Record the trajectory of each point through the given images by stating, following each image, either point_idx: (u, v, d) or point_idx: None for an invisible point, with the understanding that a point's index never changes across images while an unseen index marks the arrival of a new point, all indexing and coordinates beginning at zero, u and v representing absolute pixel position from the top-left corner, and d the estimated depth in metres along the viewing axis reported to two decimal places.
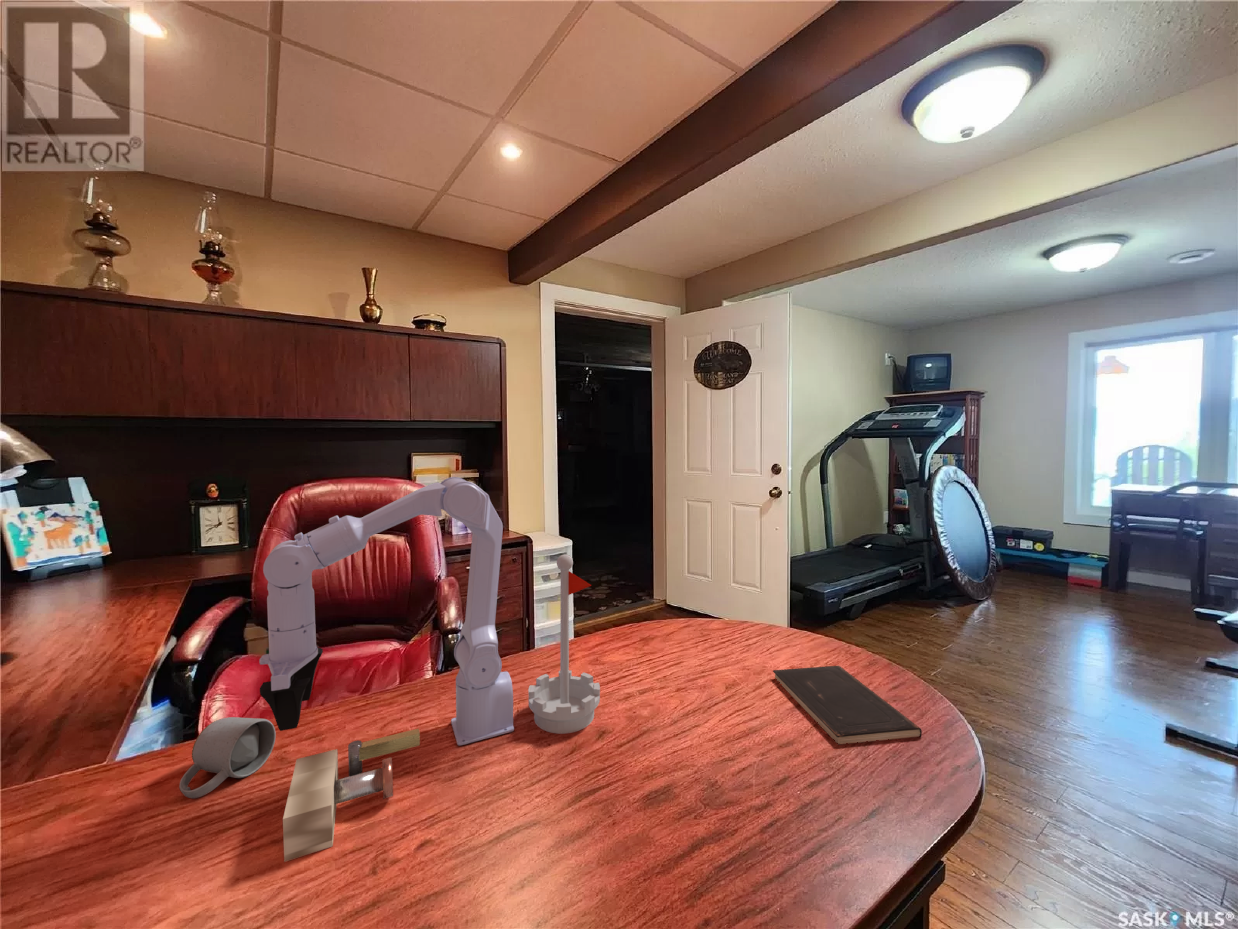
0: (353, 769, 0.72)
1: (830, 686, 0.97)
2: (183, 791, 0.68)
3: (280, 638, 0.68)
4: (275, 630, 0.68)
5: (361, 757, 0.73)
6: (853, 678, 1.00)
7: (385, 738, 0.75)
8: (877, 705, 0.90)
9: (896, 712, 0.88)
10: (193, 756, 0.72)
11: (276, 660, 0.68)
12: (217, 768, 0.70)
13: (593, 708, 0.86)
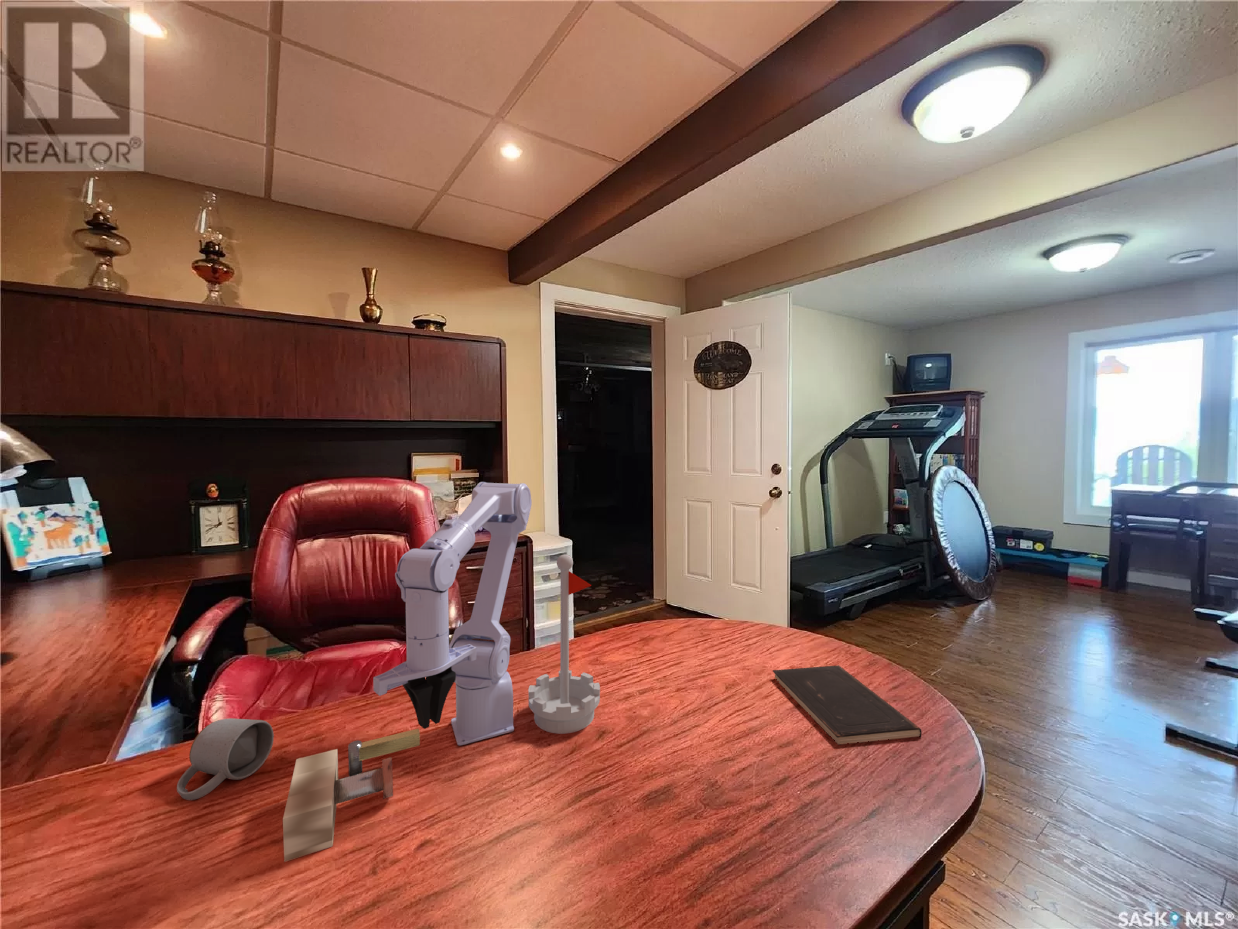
0: (353, 769, 0.72)
1: (830, 686, 0.97)
2: (180, 793, 0.67)
3: (407, 642, 0.69)
4: None
5: (361, 757, 0.73)
6: (853, 678, 1.00)
7: (385, 738, 0.75)
8: (877, 706, 0.90)
9: (896, 712, 0.88)
10: (191, 758, 0.71)
11: (406, 662, 0.69)
12: (215, 770, 0.70)
13: (593, 708, 0.86)
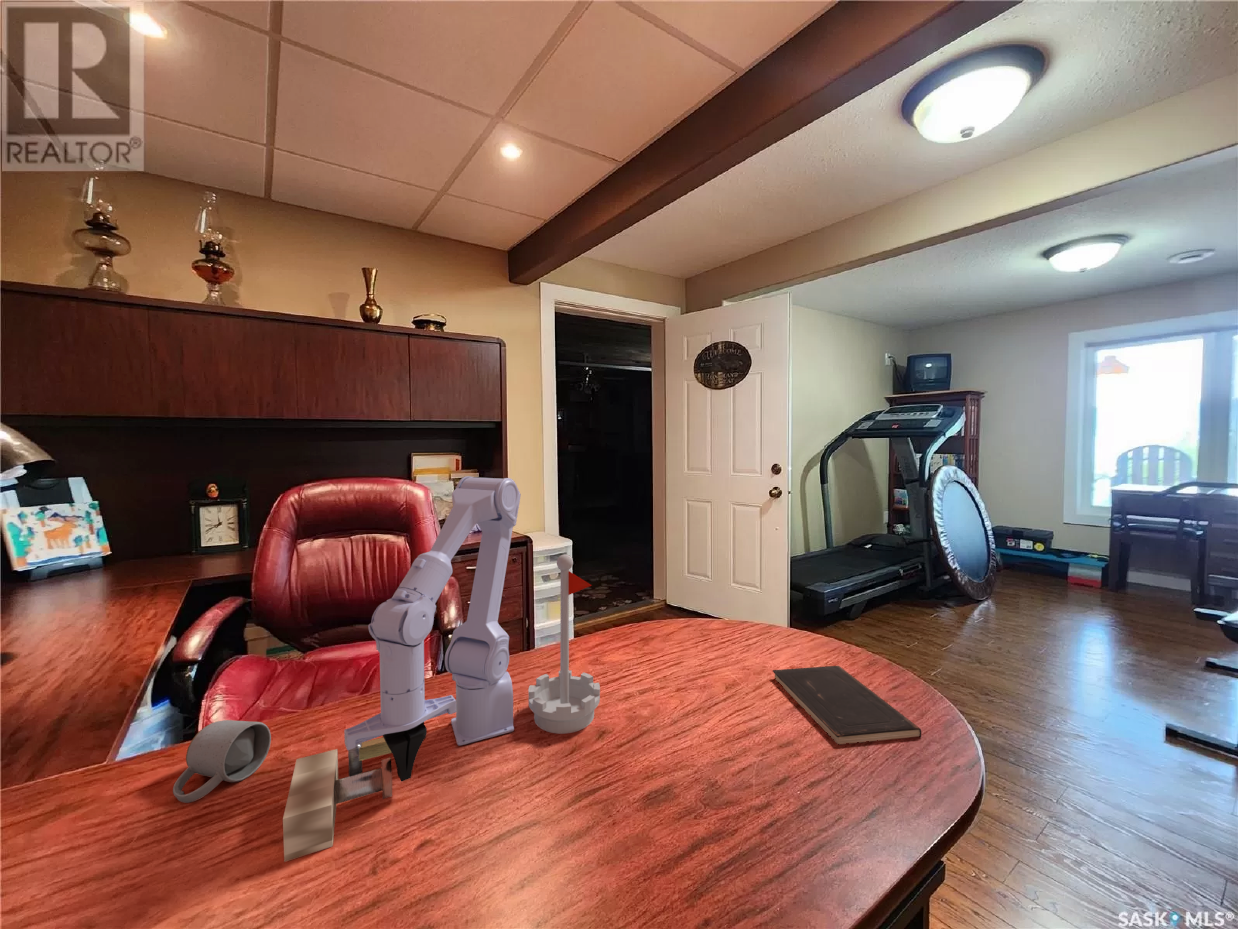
0: (353, 769, 0.72)
1: (830, 686, 0.97)
2: (176, 795, 0.67)
3: (381, 694, 0.68)
4: None
5: (361, 757, 0.73)
6: (853, 678, 1.00)
7: None
8: (877, 706, 0.90)
9: (896, 712, 0.88)
10: (187, 760, 0.71)
11: None
12: (211, 772, 0.70)
13: (593, 708, 0.86)
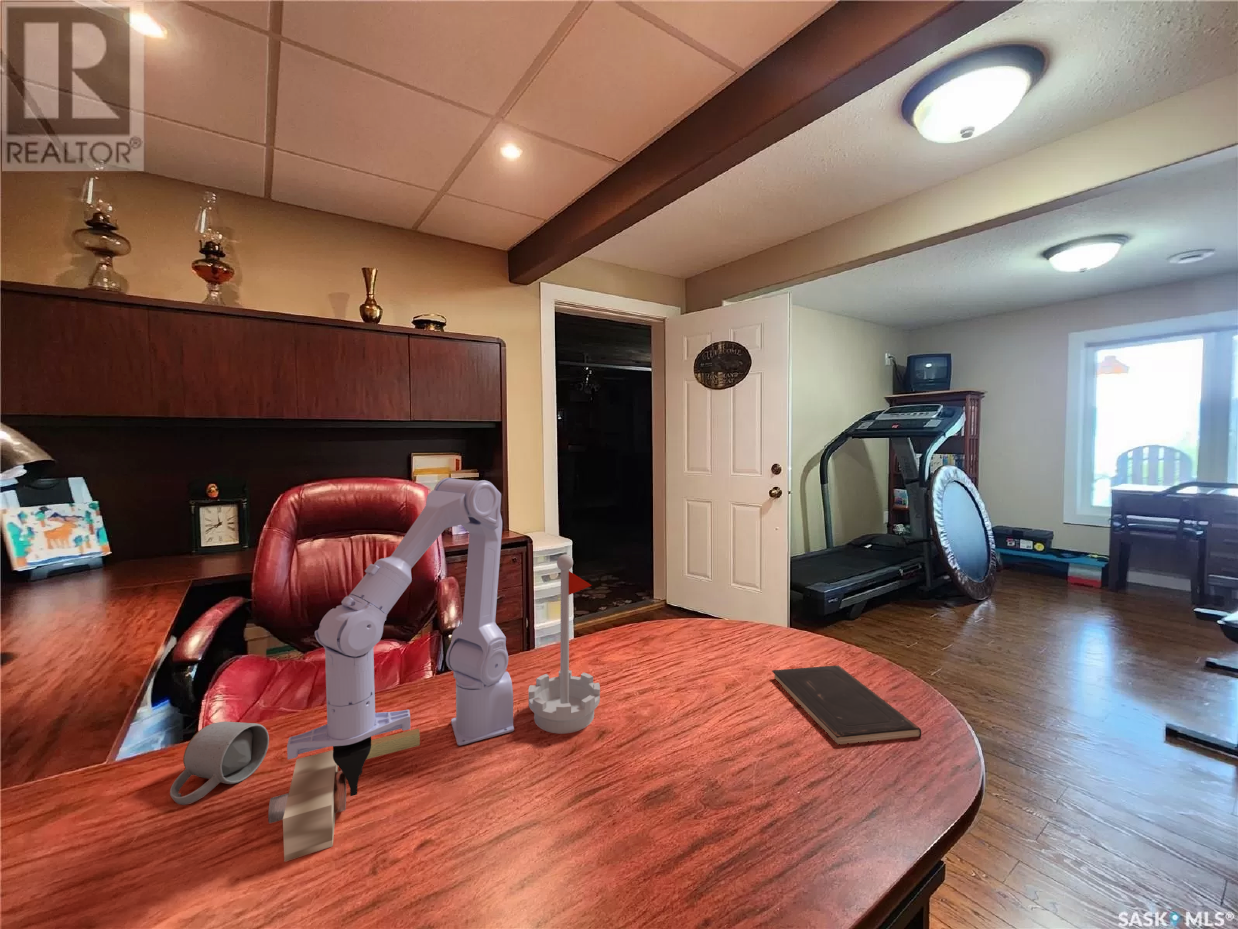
0: None
1: (829, 686, 0.97)
2: (174, 797, 0.67)
3: None
4: None
5: None
6: (852, 678, 1.00)
7: (385, 738, 0.75)
8: (877, 705, 0.90)
9: (896, 712, 0.88)
10: (184, 761, 0.70)
11: None
12: (208, 774, 0.69)
13: (593, 708, 0.86)
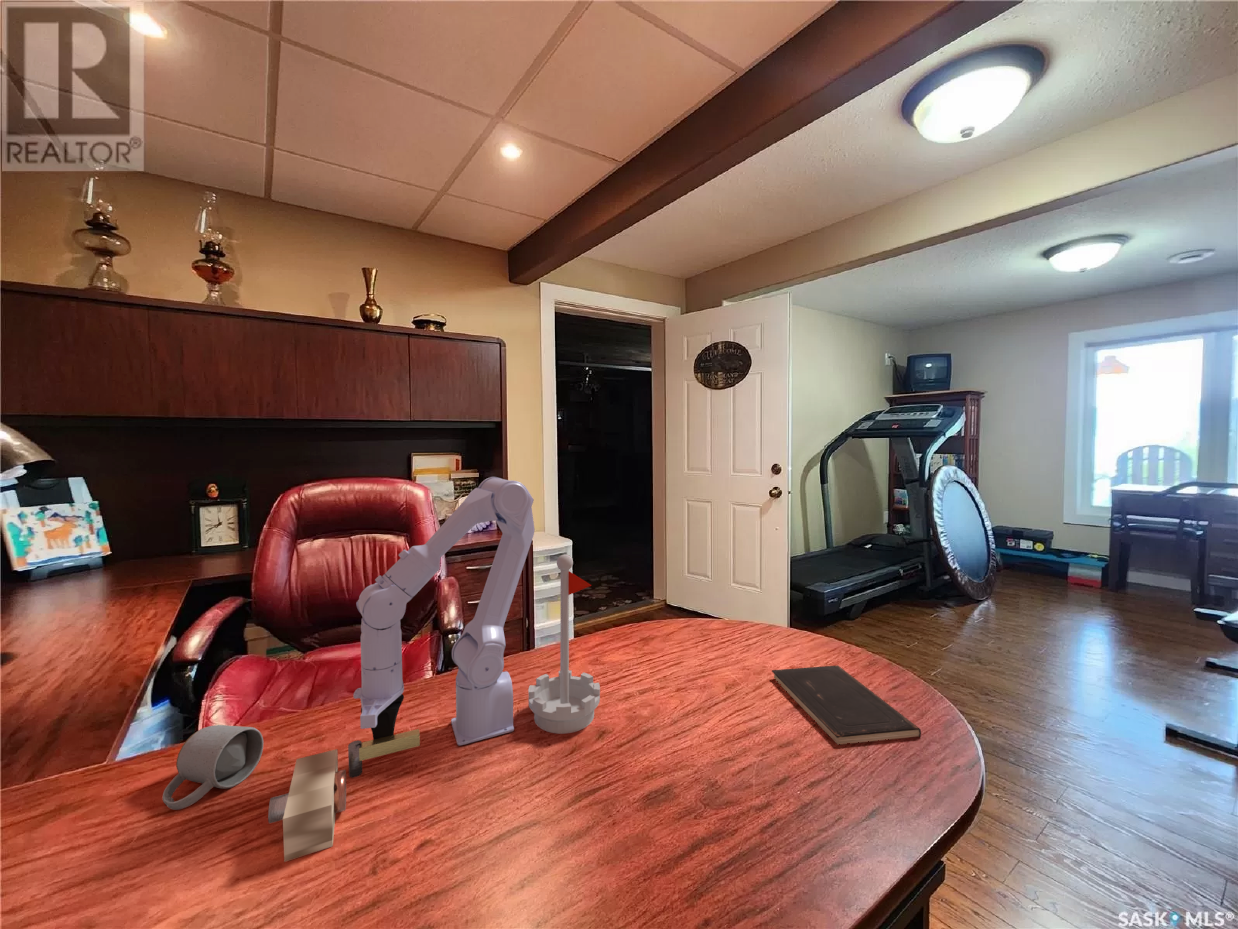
0: (353, 769, 0.72)
1: (829, 686, 0.97)
2: (166, 802, 0.66)
3: (370, 677, 0.73)
4: (366, 668, 0.73)
5: (361, 757, 0.73)
6: (852, 678, 1.00)
7: (385, 739, 0.75)
8: (876, 706, 0.90)
9: (895, 712, 0.88)
10: (177, 765, 0.69)
11: (367, 696, 0.73)
12: (202, 778, 0.68)
13: (593, 708, 0.86)
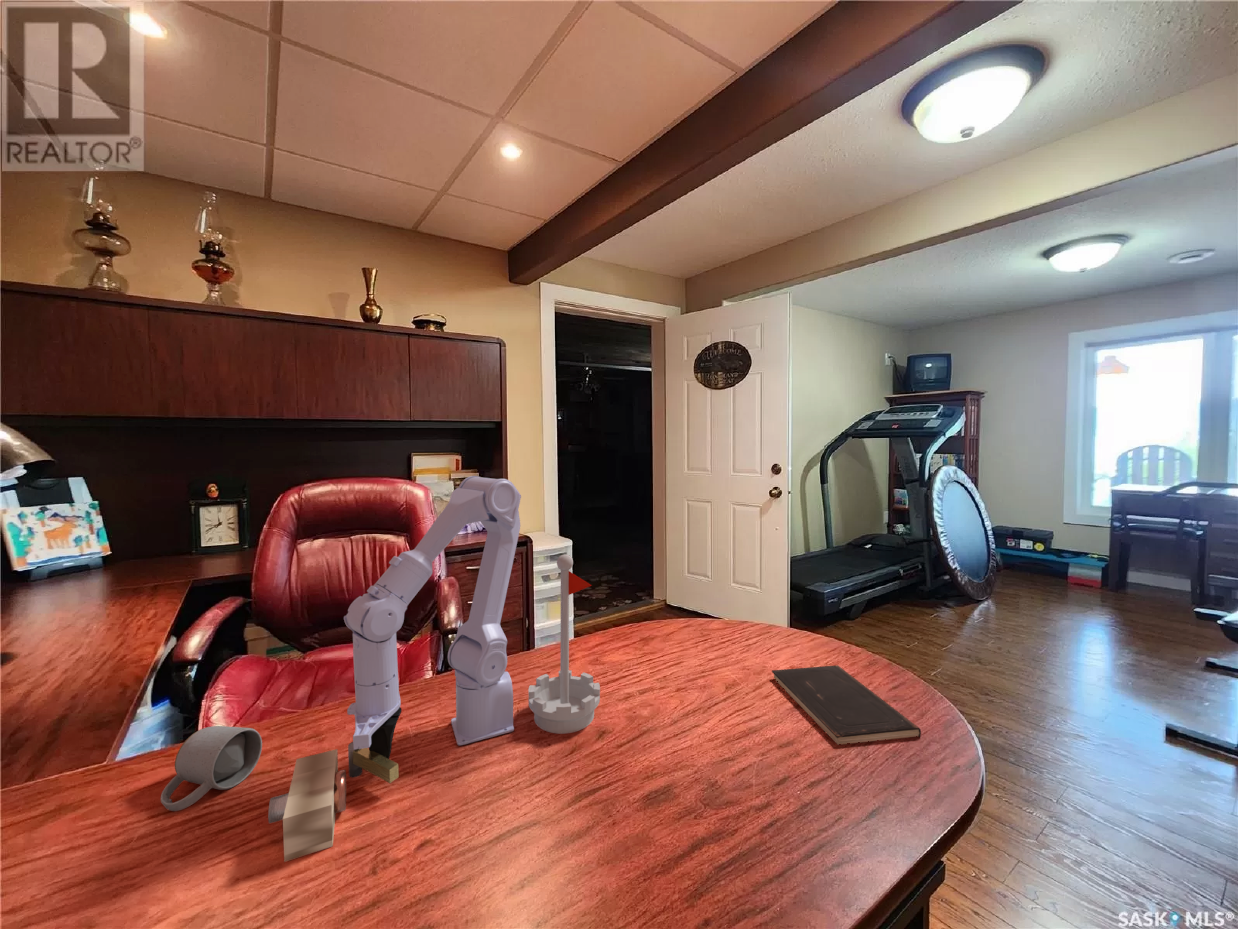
0: None
1: (829, 686, 0.97)
2: (164, 804, 0.66)
3: (364, 693, 0.69)
4: (360, 684, 0.69)
5: (354, 760, 0.72)
6: (852, 678, 1.00)
7: (372, 755, 0.71)
8: (876, 705, 0.90)
9: (895, 712, 0.88)
10: (176, 767, 0.69)
11: (361, 713, 0.69)
12: (200, 779, 0.68)
13: (593, 708, 0.86)
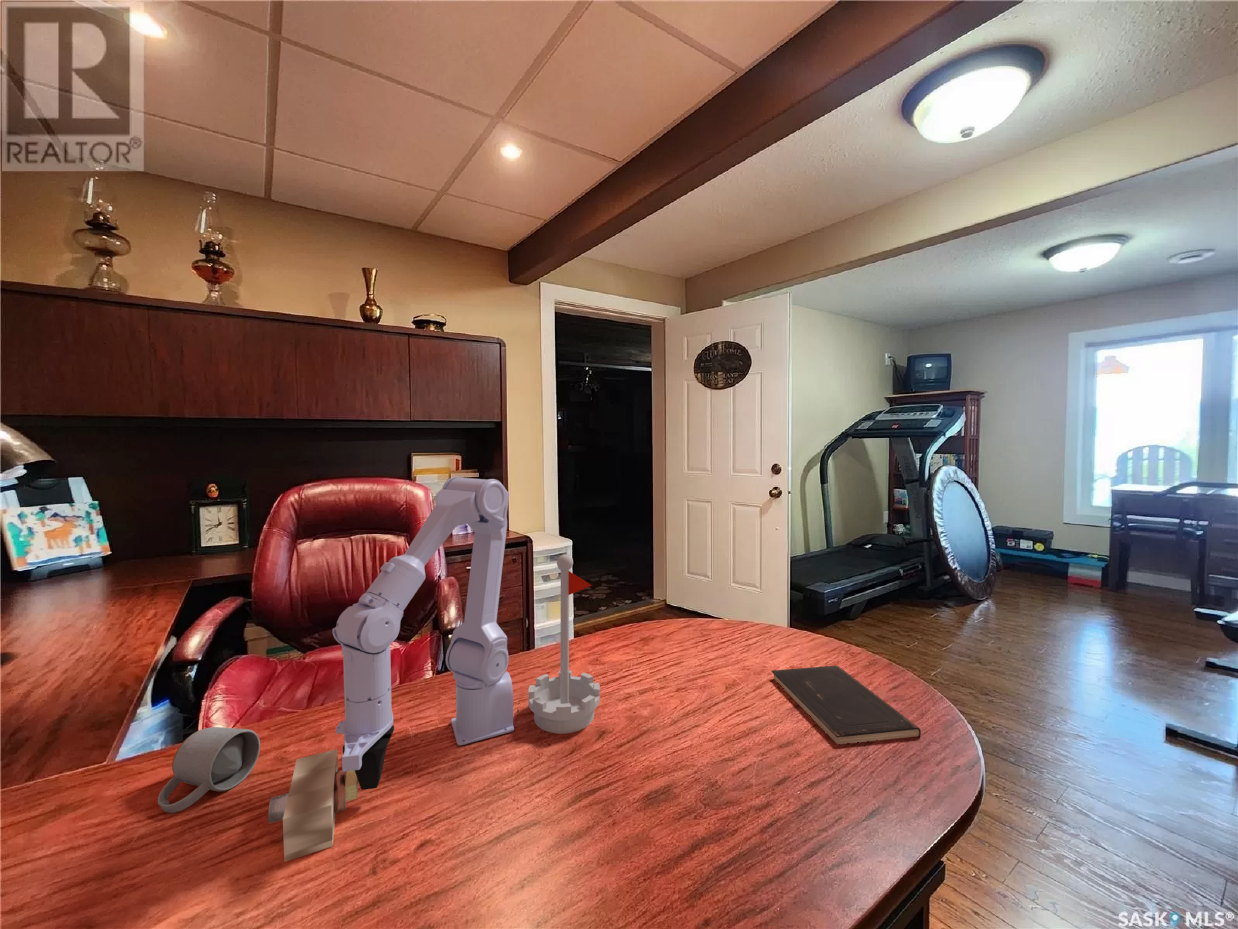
0: None
1: (829, 686, 0.97)
2: (161, 805, 0.65)
3: (354, 710, 0.64)
4: (350, 700, 0.64)
5: None
6: (852, 678, 1.00)
7: None
8: (876, 705, 0.90)
9: (895, 712, 0.88)
10: (173, 768, 0.69)
11: (351, 732, 0.64)
12: (197, 781, 0.68)
13: (593, 708, 0.86)
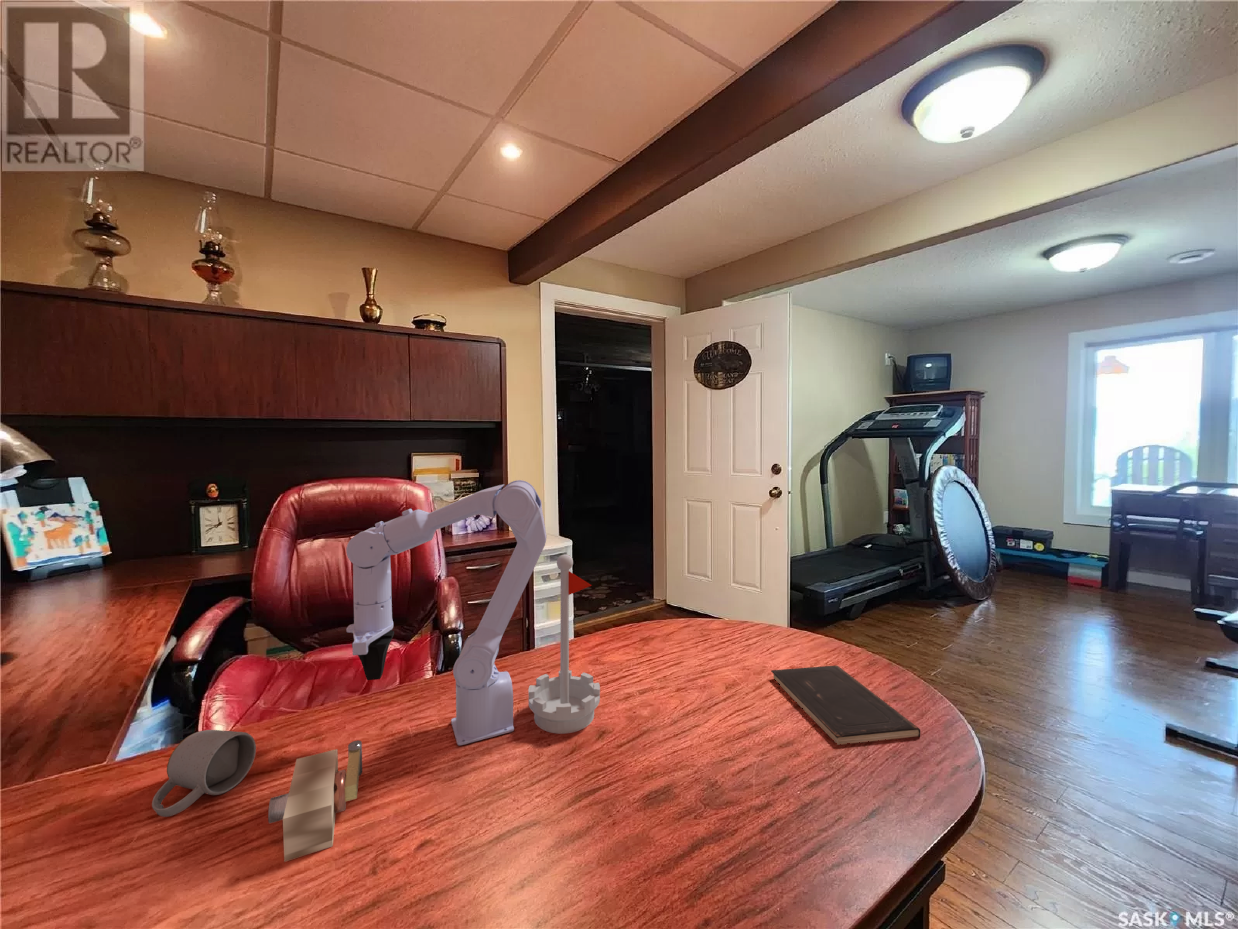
0: None
1: (829, 686, 0.97)
2: (155, 809, 0.65)
3: (362, 611, 0.79)
4: (358, 604, 0.79)
5: None
6: (851, 678, 1.00)
7: (354, 763, 0.70)
8: (876, 706, 0.90)
9: (895, 712, 0.88)
10: (168, 771, 0.68)
11: (359, 629, 0.79)
12: (192, 784, 0.67)
13: (593, 708, 0.86)
